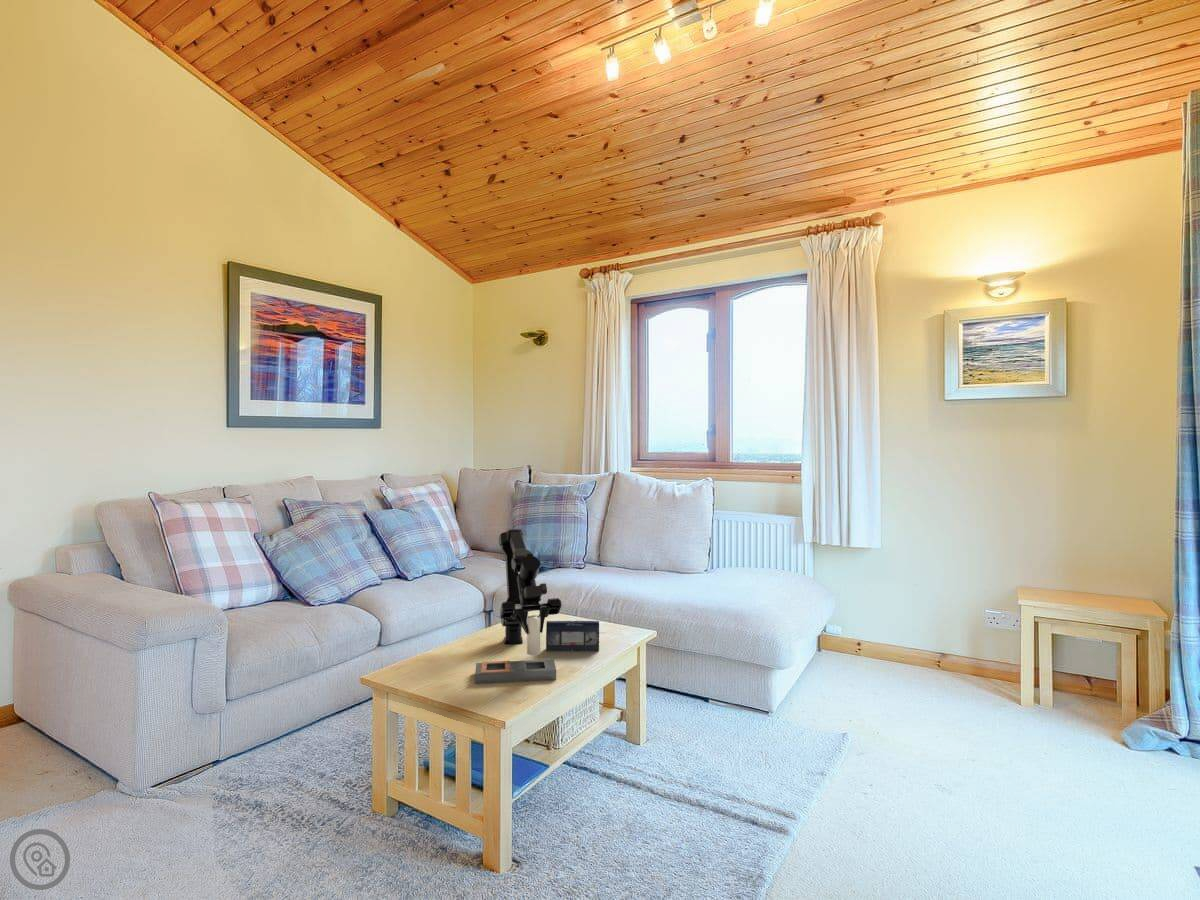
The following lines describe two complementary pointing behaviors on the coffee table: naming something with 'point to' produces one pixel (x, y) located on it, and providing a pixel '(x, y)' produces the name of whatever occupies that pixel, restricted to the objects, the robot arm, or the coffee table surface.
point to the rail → (515, 671)
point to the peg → (533, 635)
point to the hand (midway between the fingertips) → (534, 633)
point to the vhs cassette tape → (572, 636)
